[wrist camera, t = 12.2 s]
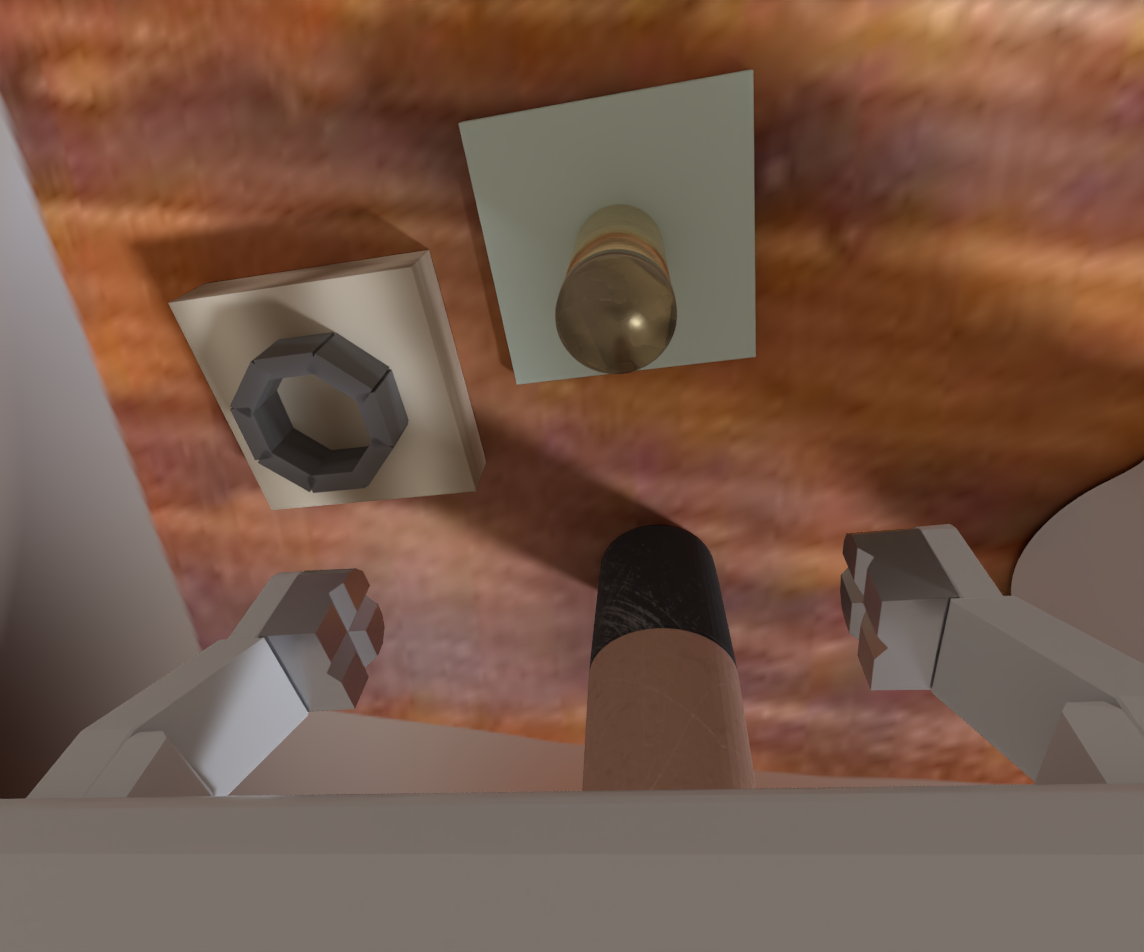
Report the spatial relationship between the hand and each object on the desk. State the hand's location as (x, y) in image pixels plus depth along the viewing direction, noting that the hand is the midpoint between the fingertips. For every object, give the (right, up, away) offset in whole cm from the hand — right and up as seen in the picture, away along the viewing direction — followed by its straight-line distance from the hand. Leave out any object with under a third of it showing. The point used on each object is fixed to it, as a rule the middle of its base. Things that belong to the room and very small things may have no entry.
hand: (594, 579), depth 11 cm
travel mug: (+5, -4, +30) cm, 30 cm away
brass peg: (+2, +12, +18) cm, 22 cm away
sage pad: (+2, +13, +19) cm, 23 cm away
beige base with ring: (-12, +7, +24) cm, 28 cm away
